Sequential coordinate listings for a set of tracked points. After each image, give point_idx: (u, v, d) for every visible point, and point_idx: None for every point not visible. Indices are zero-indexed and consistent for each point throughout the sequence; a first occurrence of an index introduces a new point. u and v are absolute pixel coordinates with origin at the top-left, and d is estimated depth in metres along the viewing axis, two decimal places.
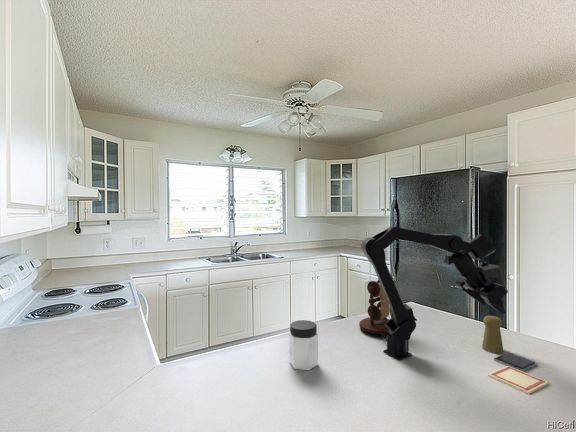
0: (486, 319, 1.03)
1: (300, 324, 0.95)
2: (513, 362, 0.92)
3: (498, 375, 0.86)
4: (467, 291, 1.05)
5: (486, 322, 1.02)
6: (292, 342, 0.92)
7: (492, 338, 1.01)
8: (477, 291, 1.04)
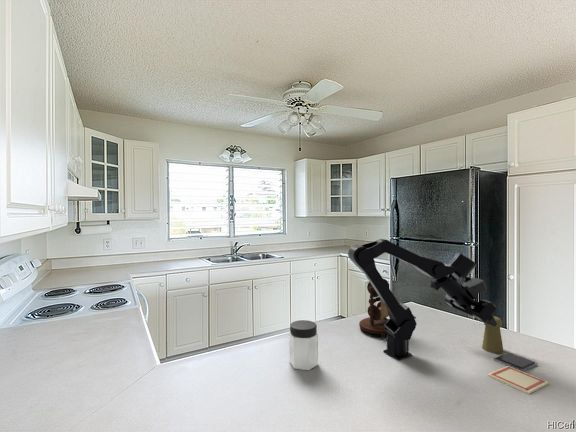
0: None
1: (300, 324, 0.95)
2: (513, 362, 0.92)
3: (498, 375, 0.86)
4: (457, 307, 1.07)
5: None
6: (292, 342, 0.92)
7: (492, 338, 1.01)
8: None
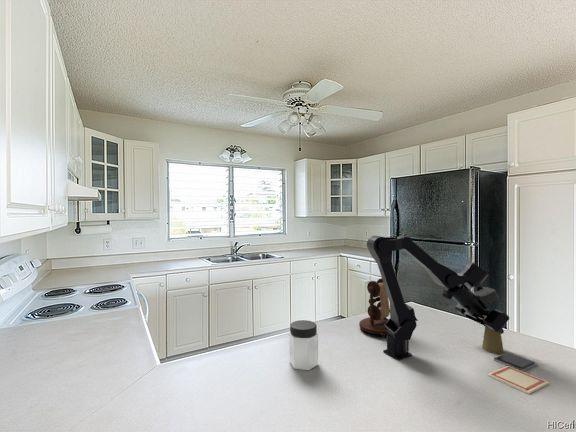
0: None
1: (300, 324, 0.95)
2: (513, 362, 0.92)
3: (498, 375, 0.86)
4: (472, 318, 1.06)
5: None
6: (292, 342, 0.92)
7: (492, 338, 1.01)
8: None
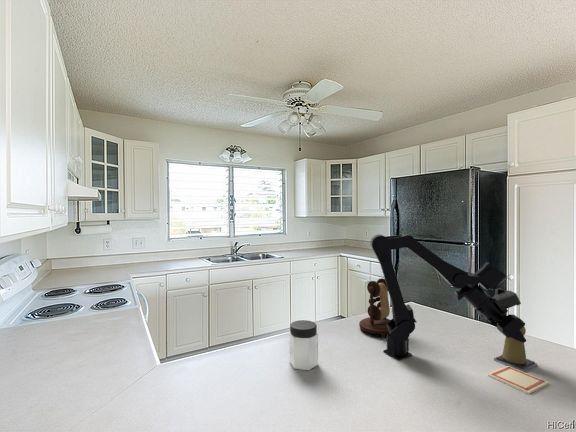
0: None
1: (300, 324, 0.95)
2: None
3: (498, 375, 0.86)
4: (492, 323, 0.98)
5: None
6: (292, 342, 0.92)
7: (511, 346, 0.92)
8: None
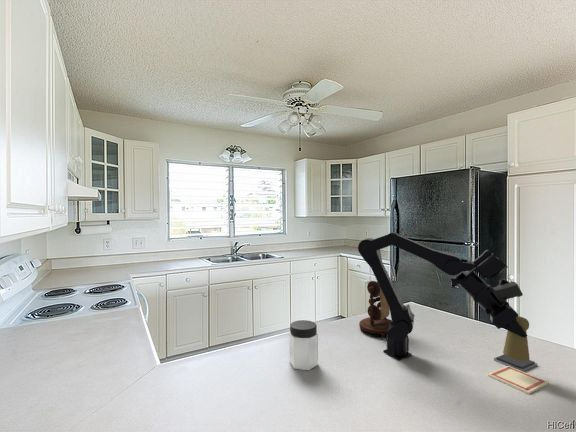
0: None
1: (300, 324, 0.95)
2: (513, 362, 0.92)
3: (498, 375, 0.86)
4: None
5: None
6: (292, 342, 0.92)
7: (511, 341, 0.86)
8: None
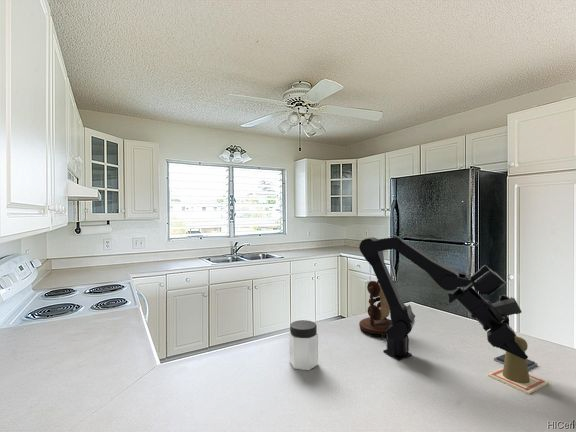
0: None
1: (300, 324, 0.95)
2: None
3: (498, 375, 0.86)
4: None
5: None
6: (292, 342, 0.92)
7: (509, 362, 0.84)
8: None
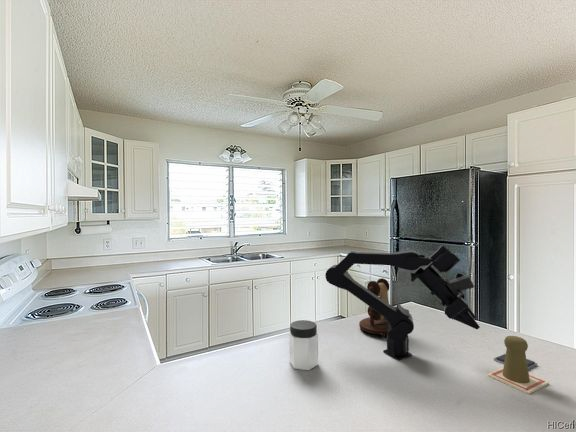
0: (505, 338, 0.86)
1: (300, 324, 0.95)
2: None
3: (498, 375, 0.86)
4: None
5: (504, 342, 0.86)
6: (292, 342, 0.92)
7: (509, 362, 0.84)
8: None
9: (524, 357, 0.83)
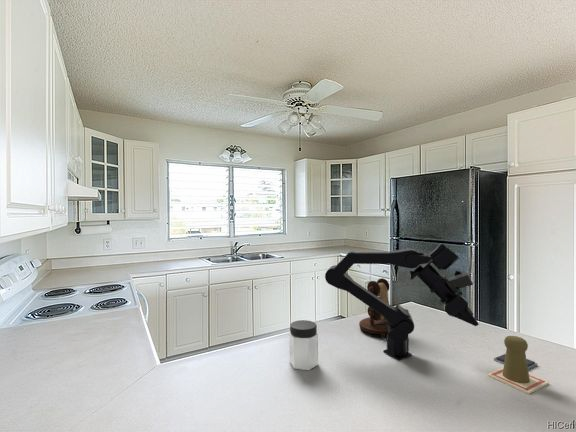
0: (505, 338, 0.86)
1: (300, 324, 0.95)
2: None
3: (498, 375, 0.86)
4: None
5: (504, 342, 0.86)
6: (292, 342, 0.92)
7: (509, 362, 0.84)
8: None
9: (524, 357, 0.83)
